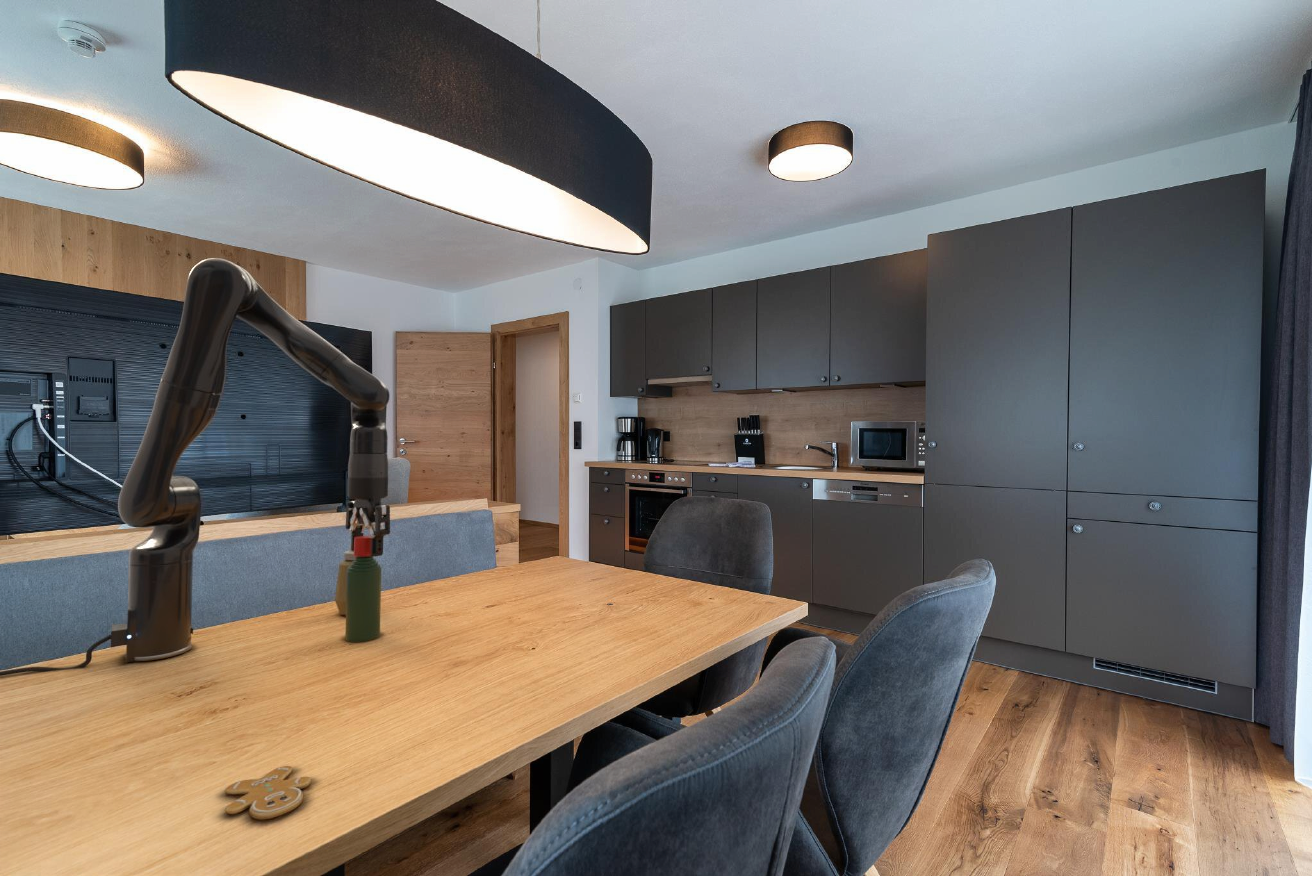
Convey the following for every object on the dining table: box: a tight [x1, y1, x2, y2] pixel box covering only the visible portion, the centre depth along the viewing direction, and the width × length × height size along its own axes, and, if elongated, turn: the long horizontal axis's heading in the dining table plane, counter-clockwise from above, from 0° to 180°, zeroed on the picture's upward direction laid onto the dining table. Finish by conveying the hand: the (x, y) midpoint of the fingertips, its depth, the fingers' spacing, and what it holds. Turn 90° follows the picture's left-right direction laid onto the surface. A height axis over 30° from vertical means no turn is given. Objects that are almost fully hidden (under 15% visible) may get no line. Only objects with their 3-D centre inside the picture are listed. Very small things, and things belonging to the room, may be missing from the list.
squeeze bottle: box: [334, 544, 358, 616], centre depth 137 cm, size 8×8×18 cm
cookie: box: [224, 765, 312, 820], centre depth 65 cm, size 8×1×10 cm
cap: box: [354, 535, 372, 557], centre depth 120 cm, size 4×4×4 cm
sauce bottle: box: [344, 556, 382, 643], centre depth 120 cm, size 6×6×20 cm
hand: (366, 553), depth 120 cm, fingers open, 8 cm apart
